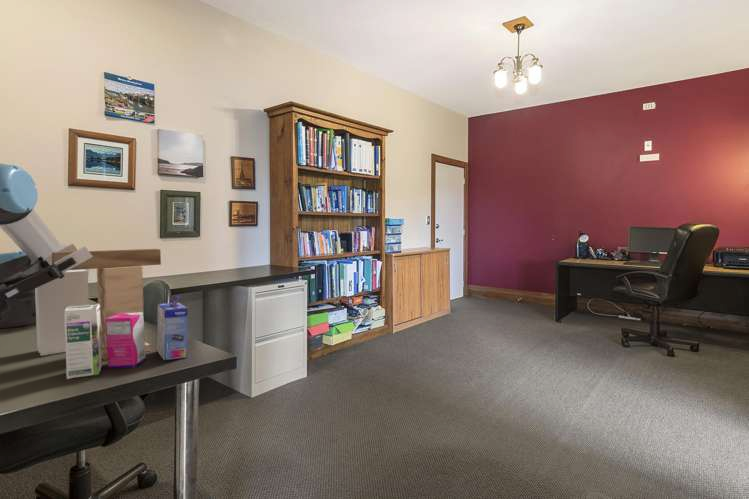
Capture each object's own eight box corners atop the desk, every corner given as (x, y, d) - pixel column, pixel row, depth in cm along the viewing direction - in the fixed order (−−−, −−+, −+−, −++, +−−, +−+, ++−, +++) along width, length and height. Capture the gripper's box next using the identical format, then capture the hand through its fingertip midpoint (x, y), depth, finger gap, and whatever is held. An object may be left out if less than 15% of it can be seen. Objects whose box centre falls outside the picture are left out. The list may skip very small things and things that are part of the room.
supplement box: (120, 360, 96) (118, 312, 95) (146, 359, 97) (145, 311, 96) (106, 368, 90) (104, 317, 90) (134, 368, 91) (132, 317, 90)
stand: (94, 350, 103) (91, 266, 102) (137, 342, 110) (135, 263, 109) (104, 359, 96) (100, 269, 95) (150, 350, 103) (147, 266, 102)
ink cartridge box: (189, 357, 98) (188, 298, 97) (164, 362, 95) (162, 300, 94) (180, 347, 106) (179, 292, 105) (156, 351, 103) (155, 294, 102)
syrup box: (65, 379, 84) (62, 310, 83) (71, 370, 89) (68, 305, 88) (99, 375, 86) (96, 307, 86) (102, 366, 92) (100, 302, 91)
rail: (52, 269, 94) (51, 252, 94) (155, 263, 110) (155, 248, 110) (55, 270, 91) (54, 253, 91) (160, 264, 107) (160, 249, 107)
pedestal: (37, 350, 103) (34, 272, 102) (85, 342, 110) (82, 269, 109) (41, 356, 99) (37, 274, 98) (90, 347, 106) (87, 270, 105)
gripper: (-36, 300, 74) (83, 238, 86) (-38, 284, 91) (61, 234, 103) (-5, 331, 77) (105, 267, 89) (-13, 310, 94) (81, 259, 107)
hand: (82, 249), depth 96 cm, fingers open, 13 cm apart
